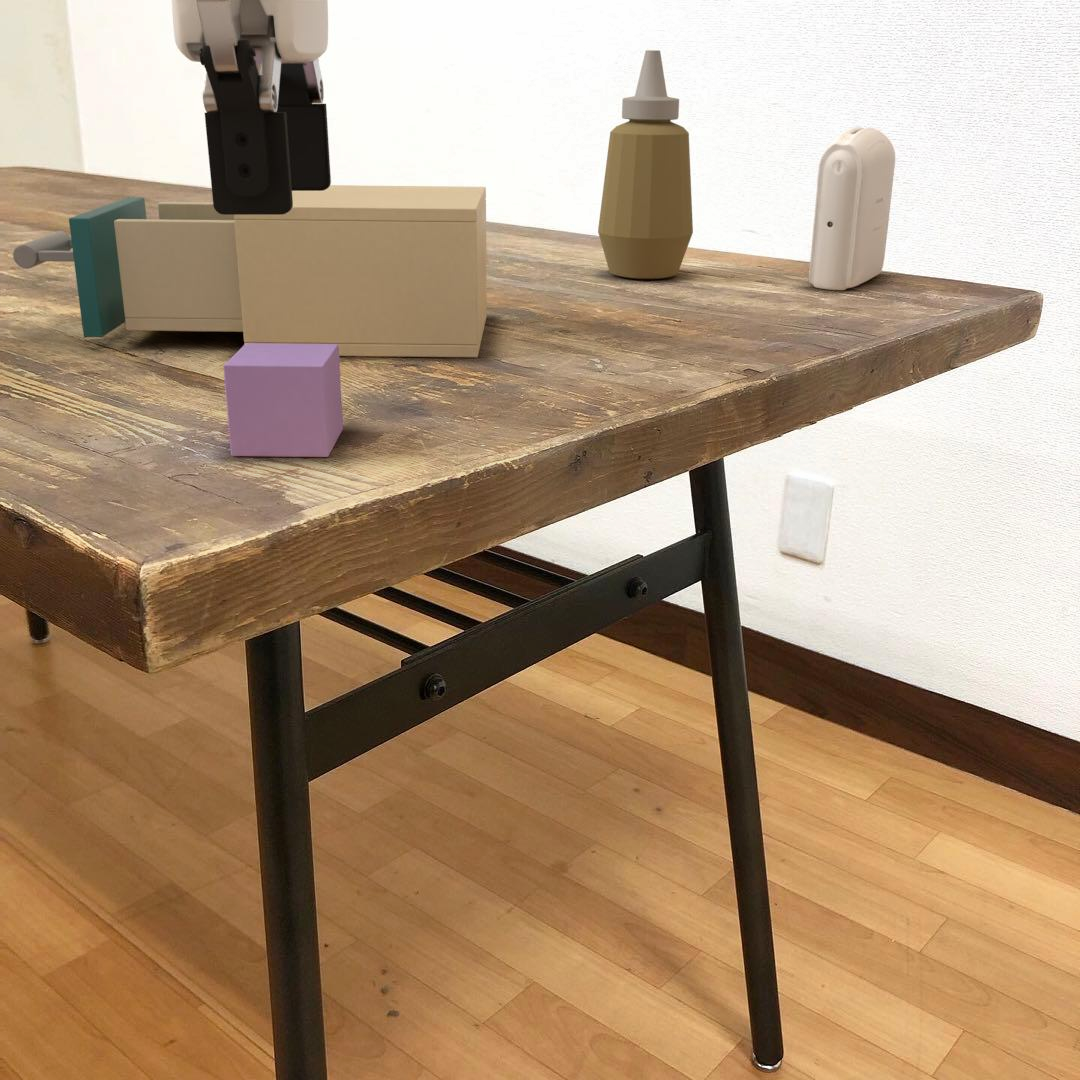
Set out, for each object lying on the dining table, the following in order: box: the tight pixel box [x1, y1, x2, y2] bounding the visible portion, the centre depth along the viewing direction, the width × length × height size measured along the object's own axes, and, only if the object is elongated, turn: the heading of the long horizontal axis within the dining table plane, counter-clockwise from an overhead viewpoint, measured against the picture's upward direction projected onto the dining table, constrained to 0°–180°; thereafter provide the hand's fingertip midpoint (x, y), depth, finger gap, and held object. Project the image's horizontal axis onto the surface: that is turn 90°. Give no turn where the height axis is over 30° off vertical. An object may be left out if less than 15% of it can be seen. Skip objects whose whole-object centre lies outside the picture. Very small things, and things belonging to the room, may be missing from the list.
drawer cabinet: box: [234, 184, 488, 358], centre depth 81 cm, size 15×13×9 cm
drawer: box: [12, 196, 243, 338], centre depth 81 cm, size 18×11×7 cm, turn 90°
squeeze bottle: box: [597, 49, 694, 280], centre depth 103 cm, size 8×8×18 cm
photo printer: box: [808, 126, 896, 291], centre depth 102 cm, size 10×4×12 cm, turn 149°
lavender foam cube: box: [223, 343, 344, 458], centre depth 60 cm, size 5×5×4 cm
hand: (277, 200), depth 56 cm, fingers open, 9 cm apart
